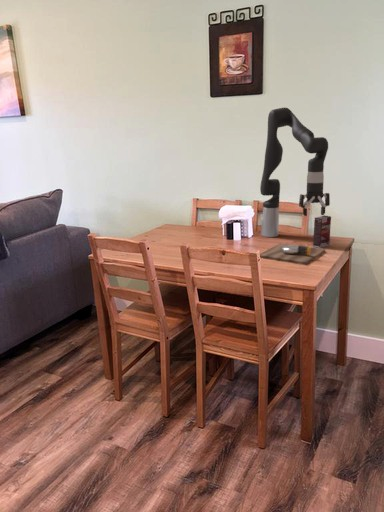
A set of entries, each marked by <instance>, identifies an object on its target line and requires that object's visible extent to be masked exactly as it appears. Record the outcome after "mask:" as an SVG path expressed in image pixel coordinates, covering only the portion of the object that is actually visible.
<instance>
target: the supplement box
mask: <svg viewBox="0 0 384 512" xmlns="http://www.w3.org/2000/svg"><path fill="white" fill-rule="evenodd" d="M313 222H314V227H313V239H312V240H313V241H312V248H318V249H323V248H325V247H328V246H330V243H331V242H330V240H331V225H332V224H331V223H332V216H331V215H330V216H329V215H325V214H324V215H320V216H316V217H314V220H313Z"/></svg>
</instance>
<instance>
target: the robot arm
mask: <svg viewBox="0 0 384 512" xmlns="http://www.w3.org/2000/svg"><path fill="white" fill-rule="evenodd" d="M286 126H287V127H290V128H291V134H292V136H293V137H294V139H295V140H296V141H297V142H299V143H300V144H301V146H302V147H303V149H304V150H305V152H306V153H308V154H314V157H313V158H311V159H308V163H307V174H306V175H307V176H306V194H303V193H300V195H299V201H298V206H299V208H302V215H303V216H304V217H307V216H308V207H309V205H311V204H315V203H316V204H319V205H321V207H320V216H324V215H325V214H326V207H329V206H330V204H331V203H330V202H331V200H330V196H331V195H330V193H329V192H328V193H327V192H325V193H324V180H325V179H324V177H325V176H324V169H325V166H324V164H325V161H326V158H327V157H326V156H327V154H328V151H329V142H328V140H327V138H326V137H322V136H321V137H315V135H314V132H313V131H312V130H310V128H308V127H306V126H305V125H304V124H303V123H302V122H301V121H300V120H299V119H298V117H297V115H295V114H294V113H293V111H292V110H291V109H289V108H288V107H279V108H275V109H271V110H270V111H269V113H268V117H267V138H266V146H265V151H264V152H265V153H264V163H263V164H264V165H263V171H262V176H261V181H260V190H259V191H260V194H261V195H262V196H268V197H269V196H272V197H270V198H269V199H267V200H265V201H263V202H262V219H261V222H260V223H261V224H260V225H261V226H260V227H261V230H260V231H261V233H260V236H261V237H265V238H276V237H278V236H279V222H280V218H279V217H280V216H279V215H280V194H281V193H280V192H281V183H280V182H281V181H280V180H279V179H278V178H277V179H276V178H271V179H270V177H271V175H272V174H273V173H274V171H276V169H277V168H278V167H279V166H280V164H281V162H282V158H283V153H284V151H283V146H282V144H281V142H280V140H279V138H278V129H279V128H282V127H286ZM323 198H324V201H323ZM305 199H306V200H305ZM304 201H305V202H304Z"/></svg>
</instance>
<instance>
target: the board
mask: <svg viewBox="0 0 384 512" xmlns="http://www.w3.org/2000/svg"><path fill="white" fill-rule="evenodd" d="M285 245H289V244H286V243H278V244H276V245H275V246H272V247H271V248H269V249H266V250H265V251H263V252H261V253H259V254H260V257H261V259H267V260H272V261H273V260H274V261H280V262H285V263H291V264H292V263H293V264H298V265H304V266H307V265H308V264H309V263H311V262H313V261H314V260H315V259H317V258H318V257H320V256H321V255H323V254H324V253H326V249H325V248H317V247H311V255H305V254H301V253H299V254H286V253H283V252H282V247H283V246H285ZM307 247H309V246H307Z"/></svg>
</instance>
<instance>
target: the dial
mask: <svg viewBox="0 0 384 512" xmlns="http://www.w3.org/2000/svg"><path fill="white" fill-rule="evenodd" d="M311 248H312V247H311V246H308V247H307V246H306V245H302V244H299V245H297V244H288V245H285V246H283V247H282V252H283V253H286V254H299V253H301V254H305V255H311Z"/></svg>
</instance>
